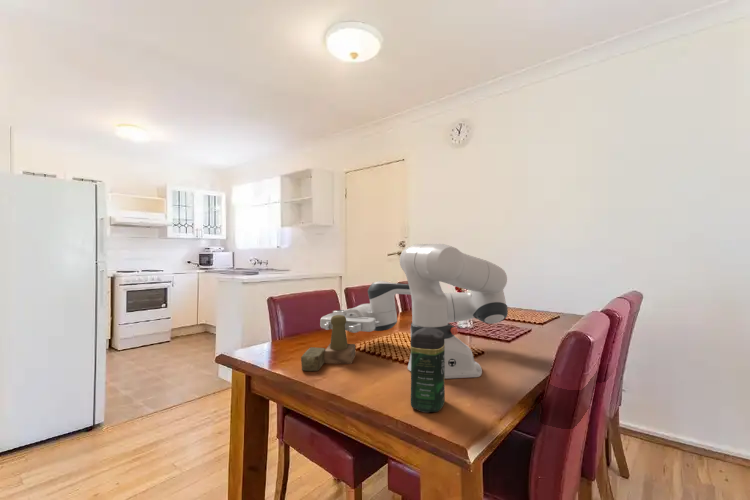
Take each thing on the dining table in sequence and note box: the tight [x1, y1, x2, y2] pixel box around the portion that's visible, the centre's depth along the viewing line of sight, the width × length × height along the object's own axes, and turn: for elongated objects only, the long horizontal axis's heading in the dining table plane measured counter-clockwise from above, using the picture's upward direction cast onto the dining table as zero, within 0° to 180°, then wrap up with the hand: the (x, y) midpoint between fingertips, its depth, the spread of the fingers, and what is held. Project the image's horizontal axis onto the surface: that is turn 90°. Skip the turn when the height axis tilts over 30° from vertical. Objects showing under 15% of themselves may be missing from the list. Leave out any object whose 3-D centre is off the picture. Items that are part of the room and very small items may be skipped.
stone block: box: [300, 347, 326, 372], centre depth 120 cm, size 6×12×5 cm, turn 176°
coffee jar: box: [410, 327, 446, 413], centre depth 90 cm, size 10×8×19 cm
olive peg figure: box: [329, 315, 348, 350], centre depth 127 cm, size 6×6×11 cm
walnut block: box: [323, 343, 356, 365], centre depth 127 cm, size 9×9×4 cm
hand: (338, 328), depth 126 cm, fingers open, 8 cm apart
